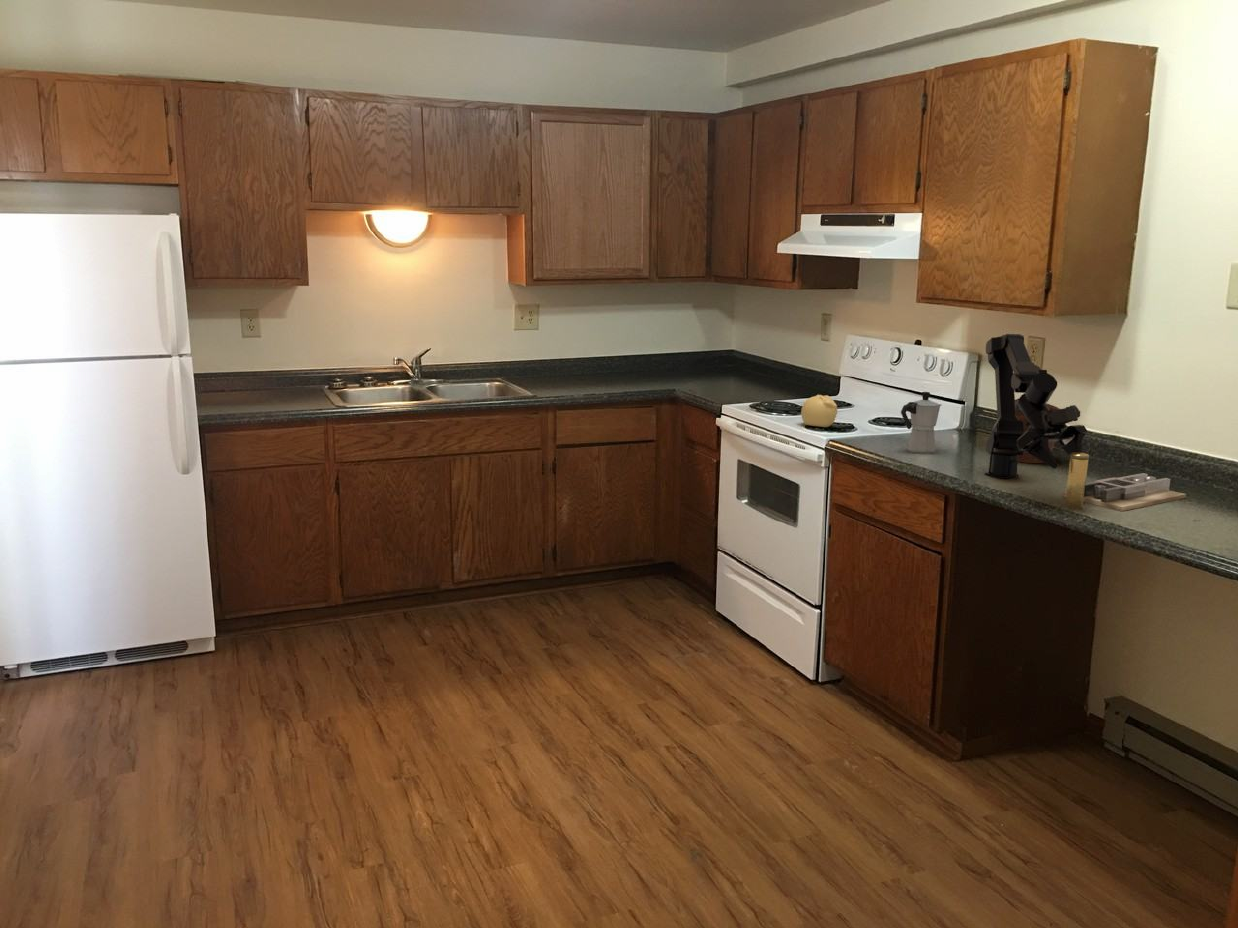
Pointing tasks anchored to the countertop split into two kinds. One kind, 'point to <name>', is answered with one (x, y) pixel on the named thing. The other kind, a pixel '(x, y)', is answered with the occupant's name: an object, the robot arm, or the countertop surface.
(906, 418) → the coffee maker
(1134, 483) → the grey slotted tray
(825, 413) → the tan round lump
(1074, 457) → the pin
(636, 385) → the countertop surface
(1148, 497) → the board
